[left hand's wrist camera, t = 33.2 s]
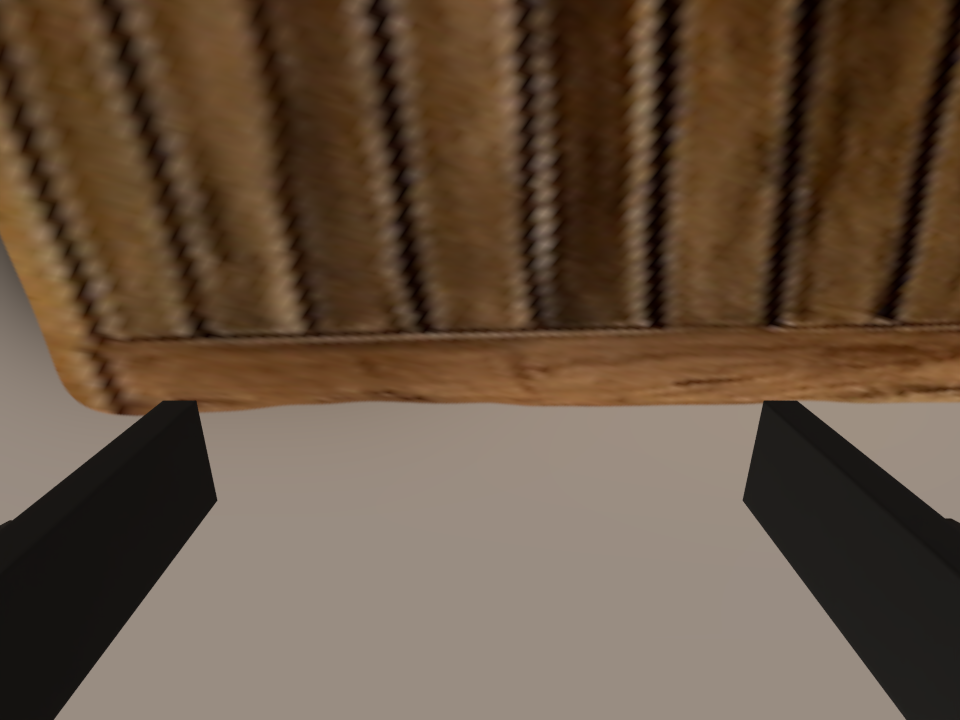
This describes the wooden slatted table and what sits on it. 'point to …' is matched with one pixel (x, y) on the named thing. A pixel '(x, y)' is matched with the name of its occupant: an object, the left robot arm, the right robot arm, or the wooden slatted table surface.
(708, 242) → the wooden slatted table surface
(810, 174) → the wooden slatted table surface
